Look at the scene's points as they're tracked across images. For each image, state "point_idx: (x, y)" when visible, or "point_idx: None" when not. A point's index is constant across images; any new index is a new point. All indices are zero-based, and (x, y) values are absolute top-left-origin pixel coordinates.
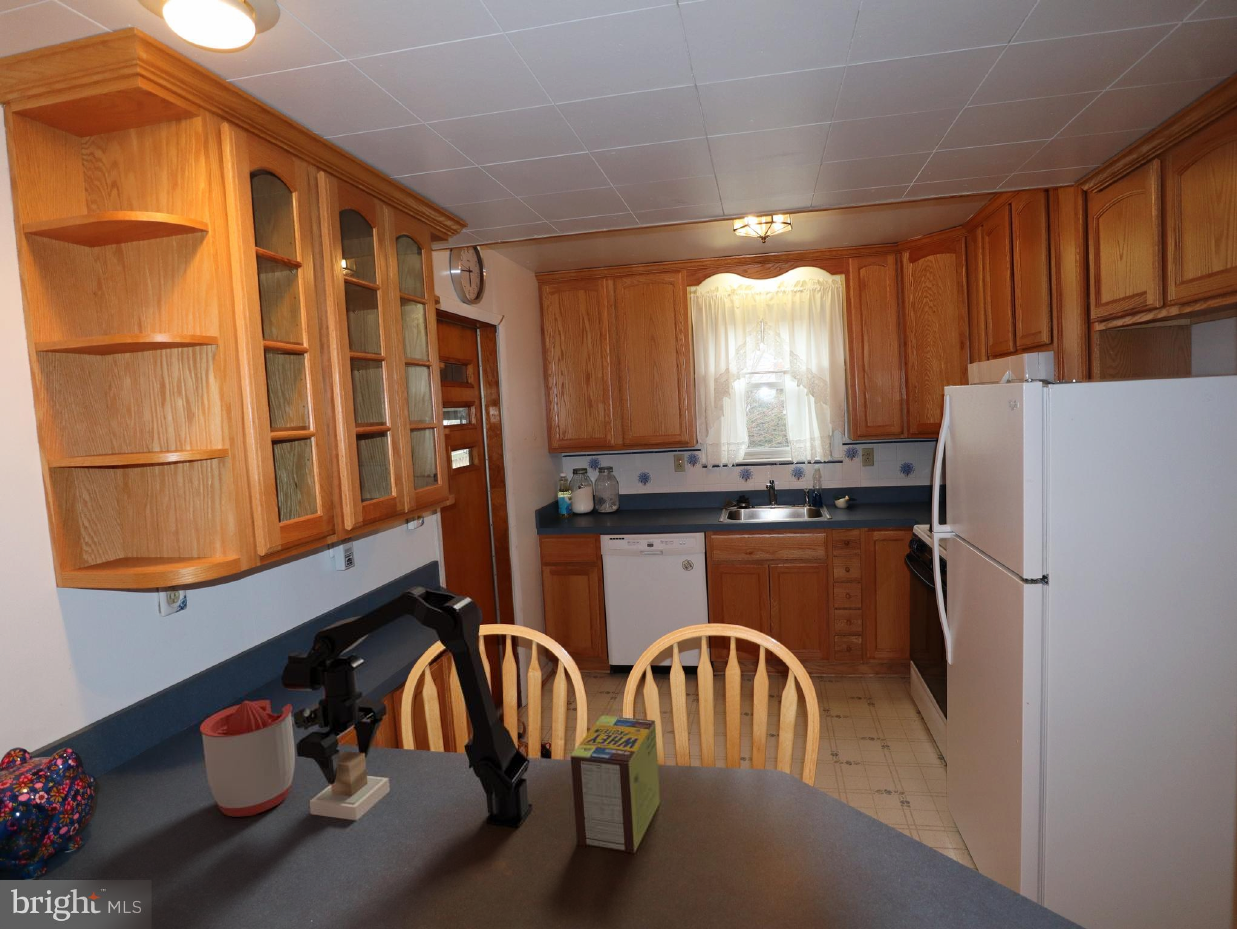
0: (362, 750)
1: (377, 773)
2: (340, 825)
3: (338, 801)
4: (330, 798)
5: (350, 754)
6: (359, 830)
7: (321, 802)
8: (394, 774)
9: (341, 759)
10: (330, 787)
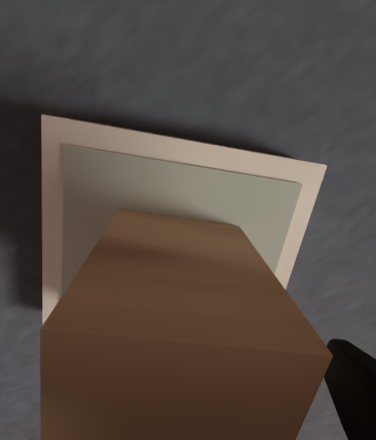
0: (366, 413)
1: (370, 240)
2: (26, 279)
3: (61, 274)
4: (75, 225)
5: (248, 433)
6: (16, 347)
7: (44, 191)
8: (350, 301)
9: (139, 411)
10: (176, 167)
